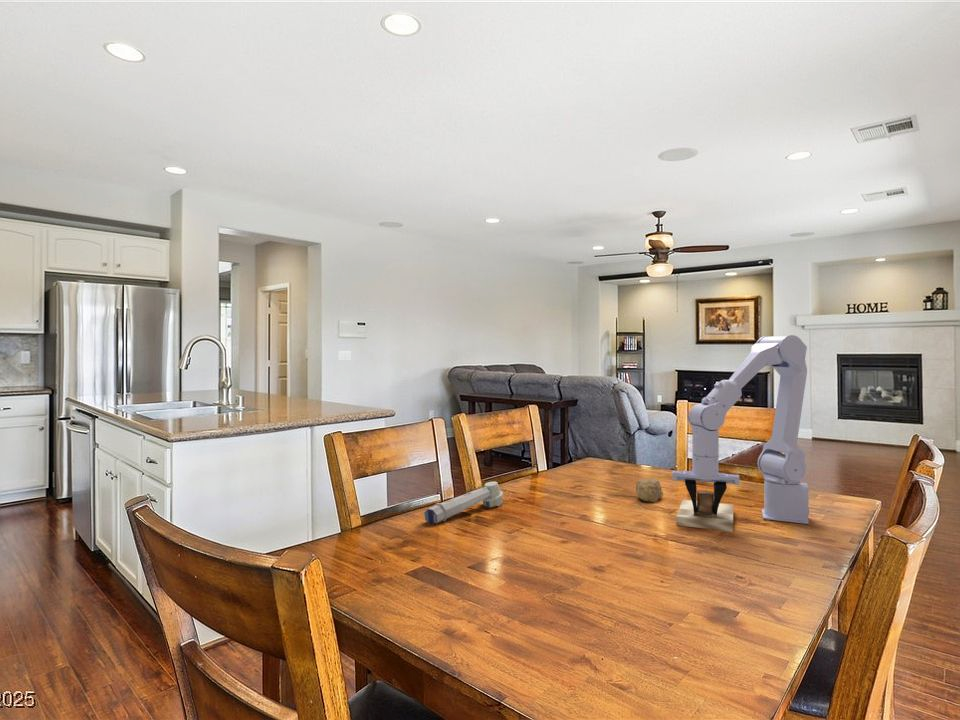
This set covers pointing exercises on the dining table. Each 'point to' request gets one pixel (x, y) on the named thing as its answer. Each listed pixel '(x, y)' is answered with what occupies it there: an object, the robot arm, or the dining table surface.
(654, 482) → the stone tool
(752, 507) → the dining table surface
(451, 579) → the dining table surface
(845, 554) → the dining table surface
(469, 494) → the grey mallet
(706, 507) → the peg
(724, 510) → the board
